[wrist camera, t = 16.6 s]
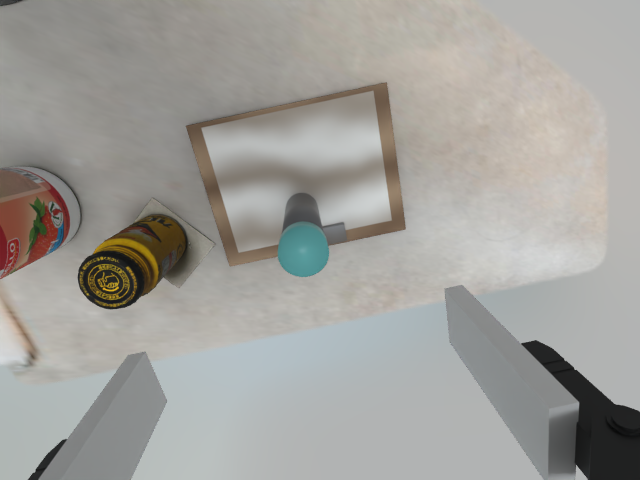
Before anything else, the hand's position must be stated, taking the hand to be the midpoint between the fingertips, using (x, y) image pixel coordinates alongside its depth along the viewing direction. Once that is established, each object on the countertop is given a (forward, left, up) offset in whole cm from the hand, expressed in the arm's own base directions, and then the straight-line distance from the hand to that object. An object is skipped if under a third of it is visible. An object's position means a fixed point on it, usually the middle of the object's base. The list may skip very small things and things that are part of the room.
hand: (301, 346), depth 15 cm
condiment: (+1, -16, -27) cm, 31 cm away
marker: (0, 0, -25) cm, 25 cm away
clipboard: (-3, +1, -26) cm, 27 cm away
